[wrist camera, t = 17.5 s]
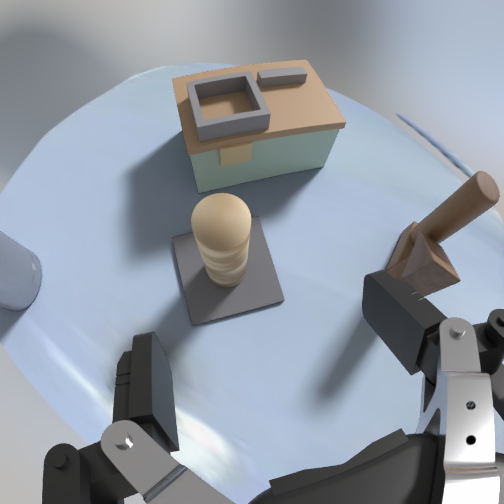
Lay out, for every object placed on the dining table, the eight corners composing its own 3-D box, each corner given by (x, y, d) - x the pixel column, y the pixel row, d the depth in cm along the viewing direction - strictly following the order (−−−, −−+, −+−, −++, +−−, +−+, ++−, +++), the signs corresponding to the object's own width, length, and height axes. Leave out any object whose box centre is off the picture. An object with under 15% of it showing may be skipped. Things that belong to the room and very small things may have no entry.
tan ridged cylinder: (212, 292, 36) (198, 254, 23) (203, 255, 37) (185, 200, 24) (250, 282, 37) (258, 239, 23) (240, 246, 38) (242, 187, 25)
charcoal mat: (192, 325, 35) (192, 324, 35) (173, 239, 38) (172, 237, 38) (283, 300, 37) (284, 300, 36) (257, 218, 40) (257, 215, 39)
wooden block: (372, 294, 37) (458, 246, 20) (402, 230, 40) (477, 161, 23) (394, 309, 37) (487, 271, 20) (421, 244, 40) (502, 183, 23)
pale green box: (197, 197, 40) (183, 136, 28) (181, 127, 44) (169, 64, 32) (327, 169, 43) (353, 109, 31) (296, 107, 47) (309, 46, 35)
